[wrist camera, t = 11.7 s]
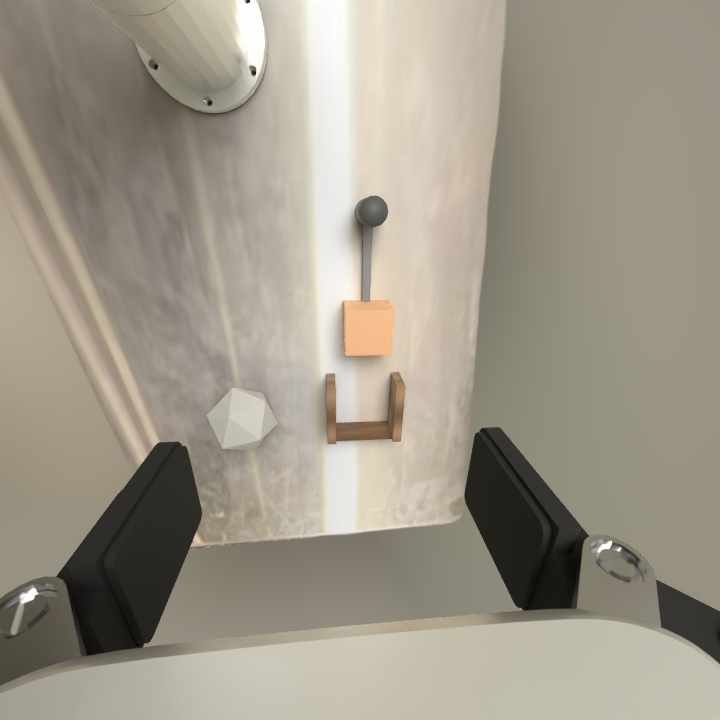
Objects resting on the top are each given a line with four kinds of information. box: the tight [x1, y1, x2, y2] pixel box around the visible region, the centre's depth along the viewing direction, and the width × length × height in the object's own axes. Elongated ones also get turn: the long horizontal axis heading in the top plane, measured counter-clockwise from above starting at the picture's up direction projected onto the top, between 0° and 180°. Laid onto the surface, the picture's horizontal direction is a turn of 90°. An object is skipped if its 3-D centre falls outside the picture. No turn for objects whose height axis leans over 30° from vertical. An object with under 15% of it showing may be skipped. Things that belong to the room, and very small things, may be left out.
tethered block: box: [343, 196, 394, 356], centre depth 42 cm, size 18×6×6 cm, turn 179°
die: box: [206, 387, 279, 450], centre depth 47 cm, size 8×9×10 cm
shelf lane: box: [327, 372, 405, 444], centre depth 50 cm, size 10×11×4 cm
